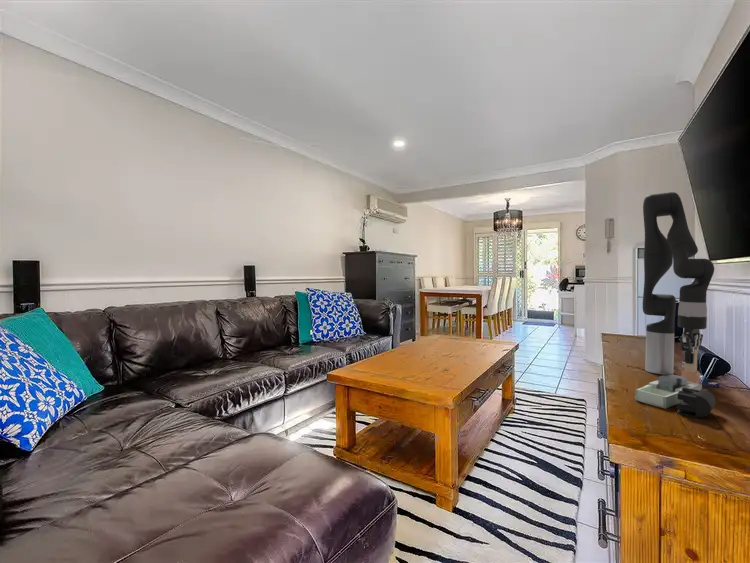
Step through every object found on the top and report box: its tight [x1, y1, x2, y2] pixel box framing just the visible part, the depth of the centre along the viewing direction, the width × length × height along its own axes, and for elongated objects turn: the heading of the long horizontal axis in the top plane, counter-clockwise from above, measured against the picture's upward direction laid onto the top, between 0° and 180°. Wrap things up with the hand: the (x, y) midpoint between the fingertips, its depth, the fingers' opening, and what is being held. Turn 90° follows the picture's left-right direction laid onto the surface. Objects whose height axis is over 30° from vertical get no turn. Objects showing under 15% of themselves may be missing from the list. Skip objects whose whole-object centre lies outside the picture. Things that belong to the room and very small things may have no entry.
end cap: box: [676, 388, 716, 419], centre depth 100 cm, size 10×7×7 cm
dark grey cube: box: [657, 374, 678, 392], centre depth 114 cm, size 4×4×4 cm
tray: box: [634, 384, 681, 409], centre depth 110 cm, size 10×8×4 cm
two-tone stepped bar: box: [680, 349, 701, 384], centre depth 122 cm, size 3×4×12 cm
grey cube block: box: [667, 373, 687, 388], centre depth 115 cm, size 4×4×4 cm
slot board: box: [643, 379, 707, 404], centre depth 116 cm, size 15×12×4 cm
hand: (690, 362), depth 121 cm, fingers closed on two-tone stepped bar, 2 cm apart
